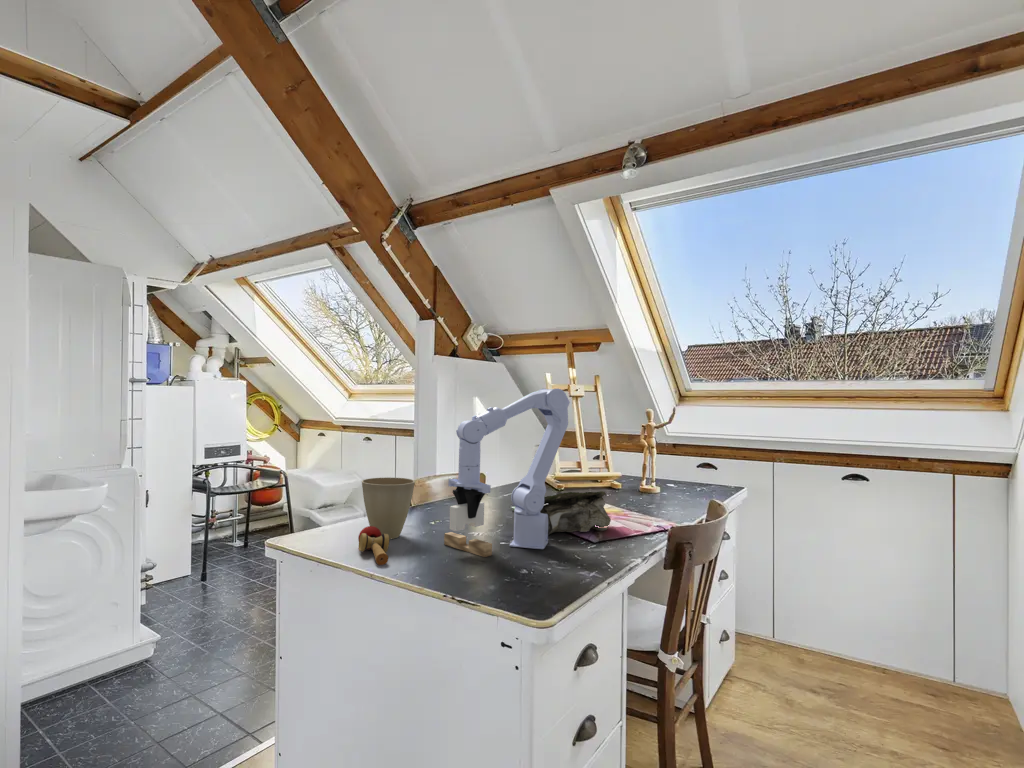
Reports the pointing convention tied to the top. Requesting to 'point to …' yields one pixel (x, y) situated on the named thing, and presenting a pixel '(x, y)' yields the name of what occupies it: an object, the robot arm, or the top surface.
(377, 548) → the kendama
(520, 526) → the robot arm
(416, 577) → the top surface
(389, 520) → the plant pot
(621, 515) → the top surface
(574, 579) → the top surface
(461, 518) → the white flat block
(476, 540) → the wooden bar
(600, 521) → the hollow geode rock
